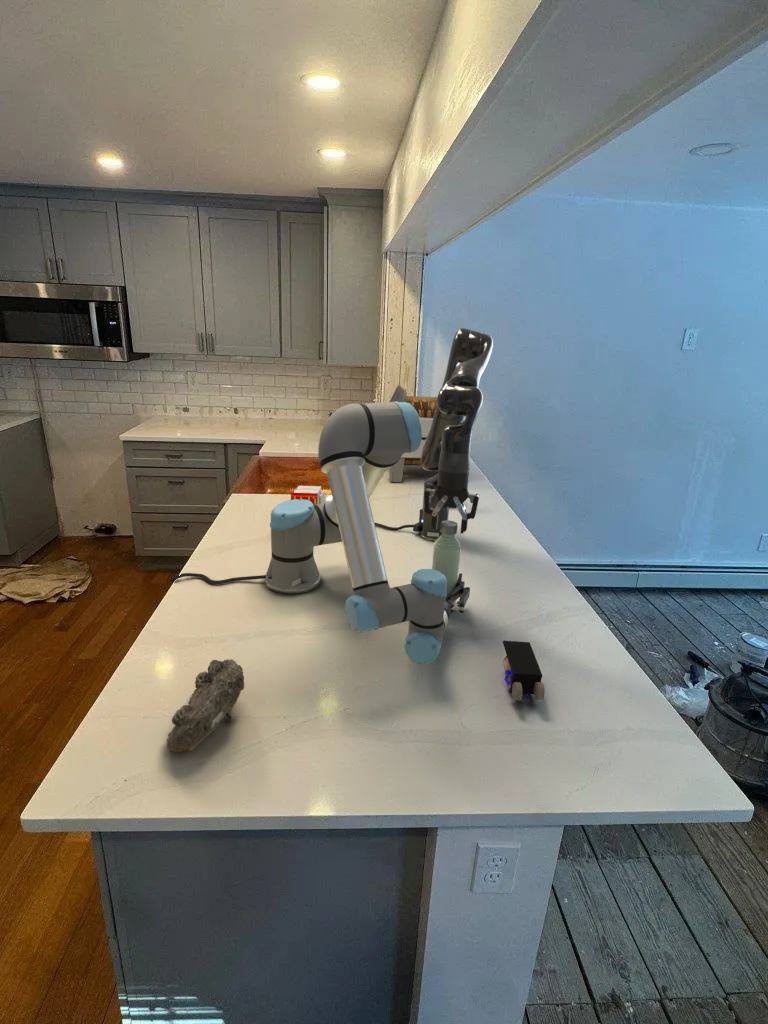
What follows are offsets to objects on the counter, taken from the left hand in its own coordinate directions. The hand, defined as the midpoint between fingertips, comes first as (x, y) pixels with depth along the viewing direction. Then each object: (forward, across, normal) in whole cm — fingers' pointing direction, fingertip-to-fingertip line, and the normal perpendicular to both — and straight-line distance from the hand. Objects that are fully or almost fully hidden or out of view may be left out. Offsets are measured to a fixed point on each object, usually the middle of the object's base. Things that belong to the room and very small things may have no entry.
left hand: (446, 575), depth 155 cm
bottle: (-5, 0, -7) cm, 8 cm away
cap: (-5, 0, +17) cm, 18 cm away
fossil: (-62, -36, -7) cm, 72 cm away
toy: (+45, -58, -7) cm, 74 cm away
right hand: (-5, 0, +15) cm, 16 cm away
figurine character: (-35, +21, -7) cm, 42 cm away
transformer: (+121, -30, -7) cm, 125 cm away
